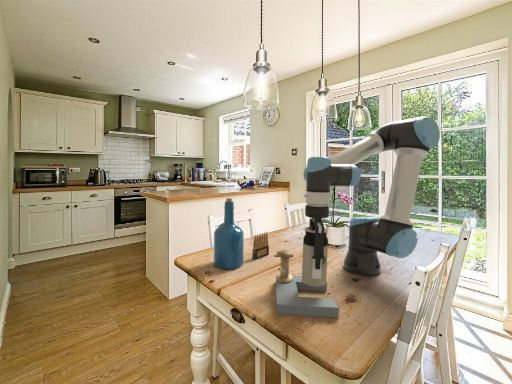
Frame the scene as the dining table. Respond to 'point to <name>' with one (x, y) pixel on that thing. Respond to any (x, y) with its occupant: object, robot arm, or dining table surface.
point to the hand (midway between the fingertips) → (314, 272)
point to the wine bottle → (228, 241)
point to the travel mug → (308, 261)
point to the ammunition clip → (260, 246)
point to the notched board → (303, 300)
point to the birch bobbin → (284, 266)
